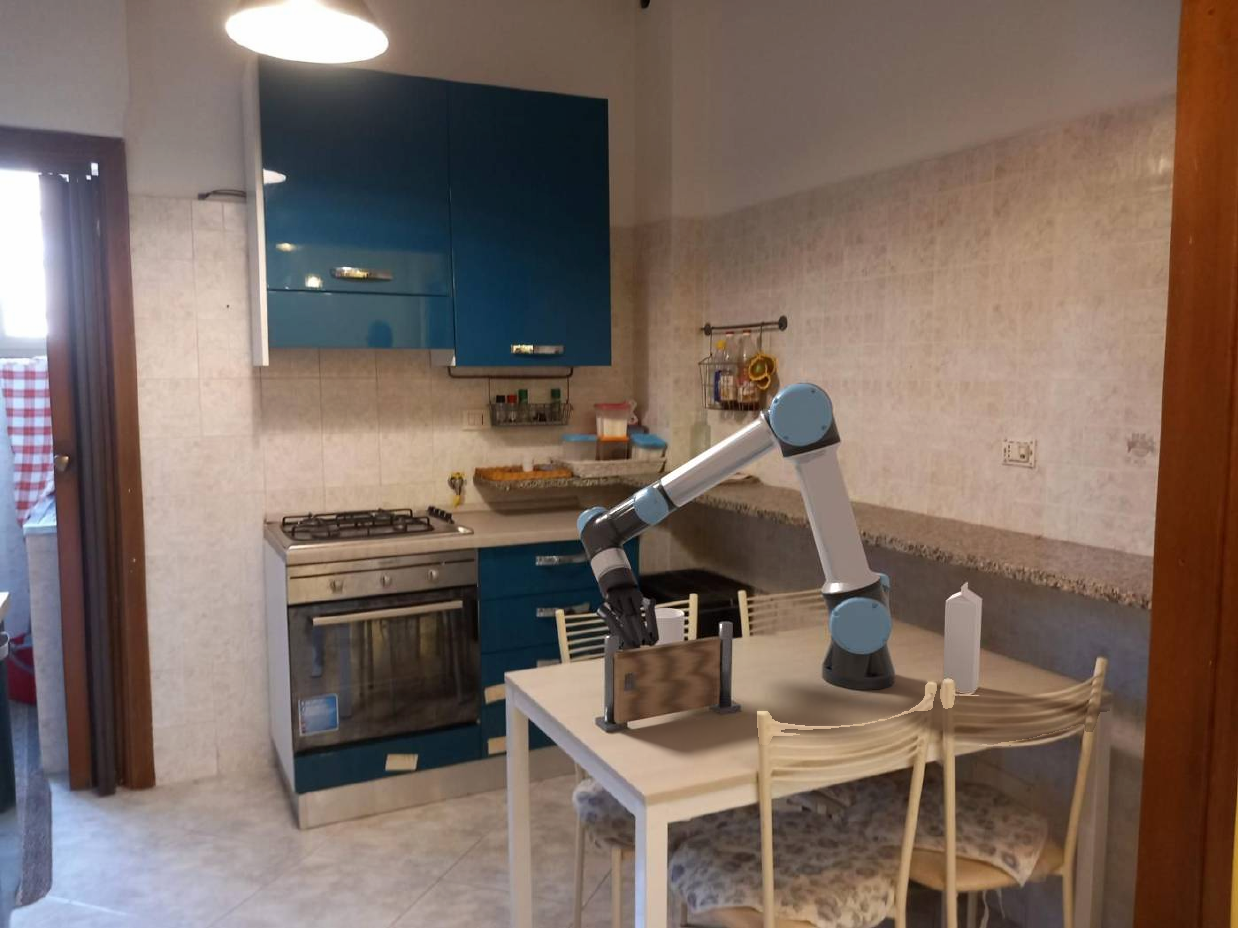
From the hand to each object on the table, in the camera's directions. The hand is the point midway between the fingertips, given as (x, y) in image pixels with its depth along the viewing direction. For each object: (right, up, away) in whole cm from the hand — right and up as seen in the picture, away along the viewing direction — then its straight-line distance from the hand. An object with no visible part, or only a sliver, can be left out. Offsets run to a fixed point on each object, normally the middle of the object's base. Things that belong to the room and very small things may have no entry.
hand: (654, 678), depth 179 cm
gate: (+2, -6, -3) cm, 7 cm away
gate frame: (+3, -7, -2) cm, 8 cm away
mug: (+2, -4, +33) cm, 34 cm away
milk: (+64, -6, +15) cm, 66 cm away
